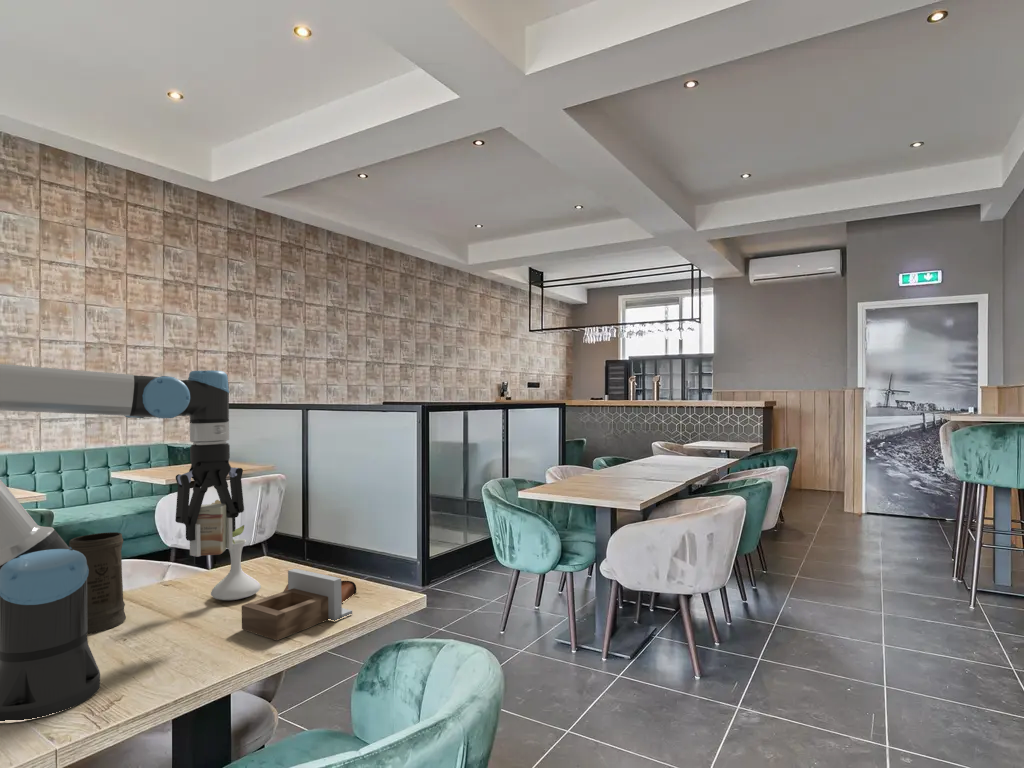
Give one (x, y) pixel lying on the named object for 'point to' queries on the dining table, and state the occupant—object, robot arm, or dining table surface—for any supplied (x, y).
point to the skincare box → (212, 528)
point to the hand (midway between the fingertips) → (211, 551)
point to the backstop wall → (320, 589)
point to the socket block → (284, 613)
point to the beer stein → (102, 579)
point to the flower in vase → (235, 574)
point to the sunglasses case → (343, 589)
